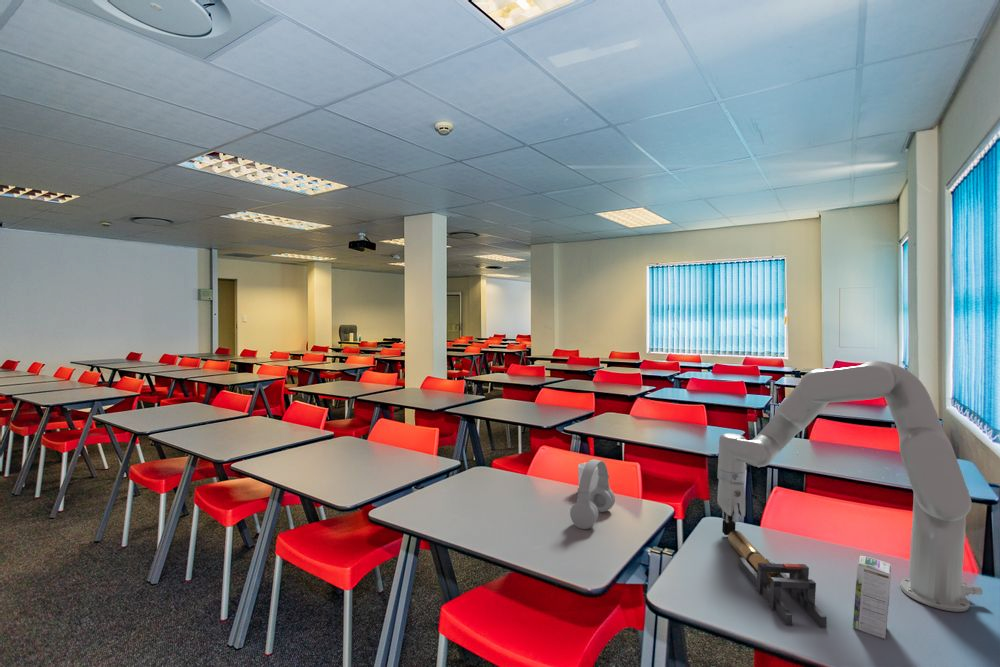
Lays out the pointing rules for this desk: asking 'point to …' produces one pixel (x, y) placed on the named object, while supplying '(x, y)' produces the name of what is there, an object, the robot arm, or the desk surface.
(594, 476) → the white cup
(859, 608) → the syrup box
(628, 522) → the desk surface
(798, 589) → the collar rig
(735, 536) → the tan cylindrical rod
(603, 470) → the headphones
